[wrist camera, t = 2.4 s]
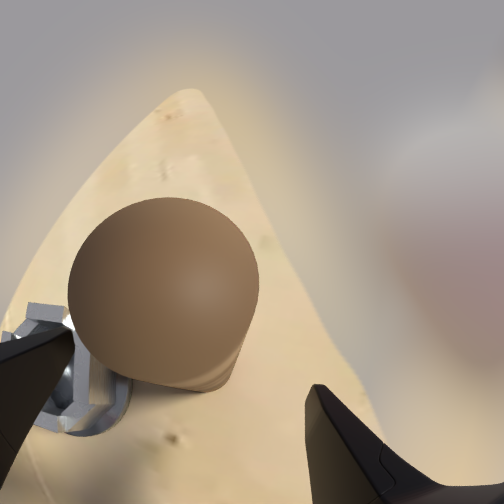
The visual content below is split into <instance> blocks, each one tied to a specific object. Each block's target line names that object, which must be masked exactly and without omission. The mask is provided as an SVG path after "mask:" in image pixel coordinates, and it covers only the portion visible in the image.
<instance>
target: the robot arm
mask: <svg viewBox="0 0 504 504" xmlns="http://www.w3.org/2000/svg"><path fill="white" fill-rule="evenodd" d="M74 352H75V343H74V337H73V332H72V330H71V329H69V328H66V327H59V328H55V329H51V330H47V331H44V332H40V333H36V334H32V335H29V336H25V337H21V338H17V339H13V340H9V341H5V342H1V343H0V490H1V488H2V486H3V483H4V481H5V479H6V477H7V474H8V472H9V470H10V468H11V466H12V464H13V462H14V460H15V458H16V456H17V453H18V451H19V449H20V447H21V446H22V444H23V442H24V440H25V438H26V436H27V434H28V433H29V431H30V429H31V427H32V425H33V424H34V422H35V420H36V418H37V417H38V415H39V413H40V412H41V410H42V408H43V407H44V405H45V403H46V402H47V400H48V398H49V397H50V395H51V394H52V392H53V390H54V389H55V387H56V386H57V384H58V383H59V381H60V379H61V377H62V375H63V373H64V371H65V369H66V367H67V366H68V364H69V362H70V360H71V358H72V356H73V354H74ZM305 444H306V452H307V460H308V468H309V476H310V484H311V493H312V502H313V504H504V482H503V483H500V484H493V485H481V486H445V485H442V484H439V483H437V482H435V481H433V480H431V479H430V478H428V477H427V476H426V475H424V474H423V473H421V472H420V471H418V470H417V469H415V468H414V467H413V466H411V465H410V464H408V463H407V462H406V461H405V460H403V459H402V458H401V457H399V456H398V455H397V454H396V453H395V452H394V451H392V450H391V449H390V448H389V447H388V446H387V445H386V444H385V443H383V441H382V440H380V439H379V438H378V437H377V436H376V435H375V434H374V433H373V432H372V431H371V430H370V429H369V428H368V427H367V426H366V425H365V424H364V423H363V422H362V421H361V420H360V419H359V418H358V417H356V416H355V415H354V414H353V413H352V412H351V411H350V410H349V409H348V408H347V407H346V406H345V405H344V404H343V403H342V402H341V401H340V400H339V399H338V398H337V397H336V396H335V395H334V394H333V393H332V392H331V391H330V390H329V389H328V388H327V387H326V386H325V385H322V384H314V385H312V387H311V389H310V391H309V394H308V396H307V398H306V401H305Z"/></svg>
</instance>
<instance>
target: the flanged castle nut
mask: <svg viewBox="0 0 504 504" xmlns="http://www.w3.org/2000/svg"><path fill="white" fill-rule="evenodd" d="M26 318H27V319H26V320H25V321H24V322H23V323H22V324H21V325H20V326H19V327H18V328H17V329H16V331H15V332H14V333H10V332H6V331H2V339H1V342H5V341H9V340H13V339H17V338H21V337H25V336H29V335H32V334H36V333H40V332H44V331H47V330H51V329H55V328H59V327H66V328H69V329H71V330H72V332H73V337H74V343H75V352H74V354H73V356H72V358H71V360H70V362H69V364H68V366H67V367H66V369H65V371H64V373H63V375H62V377H61V379H60V381H59V383H58V384H57V386H56V387H55V389H54V390H53V392H52V394H51V395H50V397H49V398H48V400H47V402H46V403H45V405H44V407H43V408H42V410H41V412H40V413H39V415H38V417H37V418H36V420H35V422H34V425H37V426H39V427H42V428H45V429H48V430H50V431H53V432H56V433H63V432H65V433H67V434H70V435H74V436H83V437H86V436H93V435H98V434H101V433H104V432H106V431H108V430H110V429H111V428H113V427H114V426H115V425H116V424H117V423H118V422H119V421H120V420H121V419H122V417H123V416H124V414H125V412H126V410H127V408H128V405H129V402H130V398H131V393H132V378H129V377H126V376H123V375H121V374H118V373H116V372H114V371H112V370H110V369H109V368H108V367H106V366H105V365H103V364H102V363H100V362H99V361H98V360H97V359H96V358H95V357H94V356H93V355H92V354H91V353H90V352H89V351H88V350H87V348H86V347H85V346H84V345H83V343H82V342H81V340H80V338H79V336H78V335H77V333H76V331H75V328H74V326H73V323H72V320H71V316H70V312H69V309H67V308H66V307H65V306H57V305H48V304H39V303H30V302H28V307H27V312H26Z"/></svg>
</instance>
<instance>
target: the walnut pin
mask: <svg viewBox="0 0 504 504" xmlns="http://www.w3.org/2000/svg"><path fill="white" fill-rule="evenodd" d="M258 293H259V274H258V267H257V263H256V259H255V256H254V253H253V251H252V248H251V246H250V244H249V242H248V241H247V239H246V238H245V236H244V234H243V233H242V232H241V231H240V229H239V228H238V227H237V226H236V225H235V224H234V223H233V222H232V221H231V220H230V219H229V218H228V217H226V216H225V215H223V214H222V213H220V212H219V211H217V210H215V209H214V208H212V207H210V206H208V205H205V204H202V203H200V202H197V201H193V200H189V199H182V198H155V199H149V200H144V201H141V202H138V203H134V204H132V205H129V206H127V207H125V208H123V209H121V210H119V211H117V212H115V213H114V214H112V215H111V216H109V217H108V218H107V219H105V220H104V221H103V222H102V223H101V224H99V225H98V226H97V227H96V228H95V229H94V230H93V232H92V233H91V234H90V235H89V236H88V237H87V239H86V240H85V242H84V243H83V244H82V246H81V248H80V250H79V251H78V253H77V255H76V258H75V260H74V263H73V265H72V269H71V272H70V276H69V283H68V306H69V312H70V316H71V320H72V323H73V326H74V328H75V331H76V333H77V335H78V336H79V338H80V340H81V342H82V343H83V345H84V346H85V347H86V348H87V350H88V351H89V352H90V353H91V354H92V355H93V356H94V357H95V358H96V359H97V360H98V361H99V362H100V363H102V364H103V365H105V366H106V367H108V368H109V369H110V370H112V371H114V372H116V373H118V374H121V375H123V376H126V377H129V378H132V379H135V380H139V381H144V382H149V383H153V384H158V385H163V386H169V387H174V388H180V389H186V390H193V391H200V392H211V391H215V390H217V389H219V388H221V387H222V386H223V385H225V383H226V382H227V381H228V379H229V378H230V375H231V373H232V370H233V368H234V365H235V363H236V360H237V357H238V355H239V352H240V350H241V347H242V344H243V342H244V339H245V336H246V334H247V331H248V329H249V326H250V323H251V321H252V318H253V315H254V312H255V308H256V305H257V301H258Z"/></svg>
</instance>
